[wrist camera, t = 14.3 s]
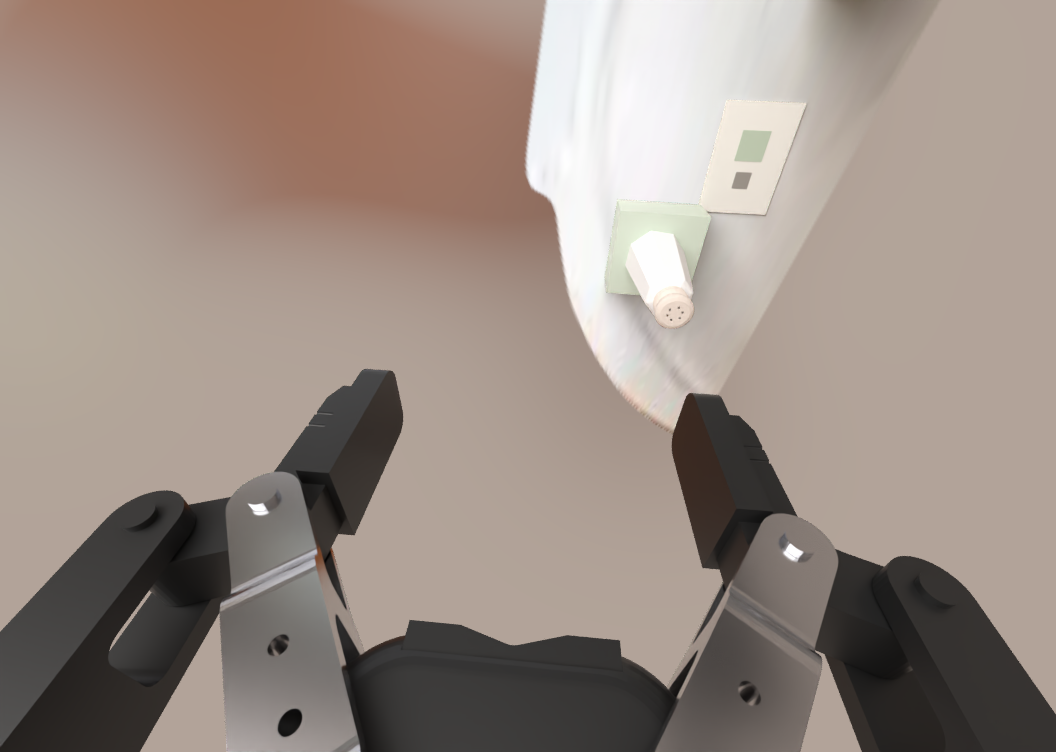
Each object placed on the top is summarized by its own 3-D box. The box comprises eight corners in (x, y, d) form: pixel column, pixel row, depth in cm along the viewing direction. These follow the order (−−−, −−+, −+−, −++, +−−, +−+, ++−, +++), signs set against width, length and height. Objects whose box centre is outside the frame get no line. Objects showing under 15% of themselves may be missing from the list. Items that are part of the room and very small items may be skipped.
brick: (617, 199, 40) (620, 210, 37) (700, 204, 40) (711, 217, 36) (604, 276, 45) (606, 292, 42) (678, 282, 44) (686, 299, 41)
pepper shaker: (629, 289, 41) (642, 350, 33) (620, 237, 38) (632, 289, 30) (685, 277, 40) (715, 337, 31) (681, 222, 37) (712, 271, 28)
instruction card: (726, 99, 35) (727, 99, 34) (805, 102, 34) (806, 103, 34) (696, 210, 40) (697, 211, 40) (764, 214, 40) (765, 214, 40)
